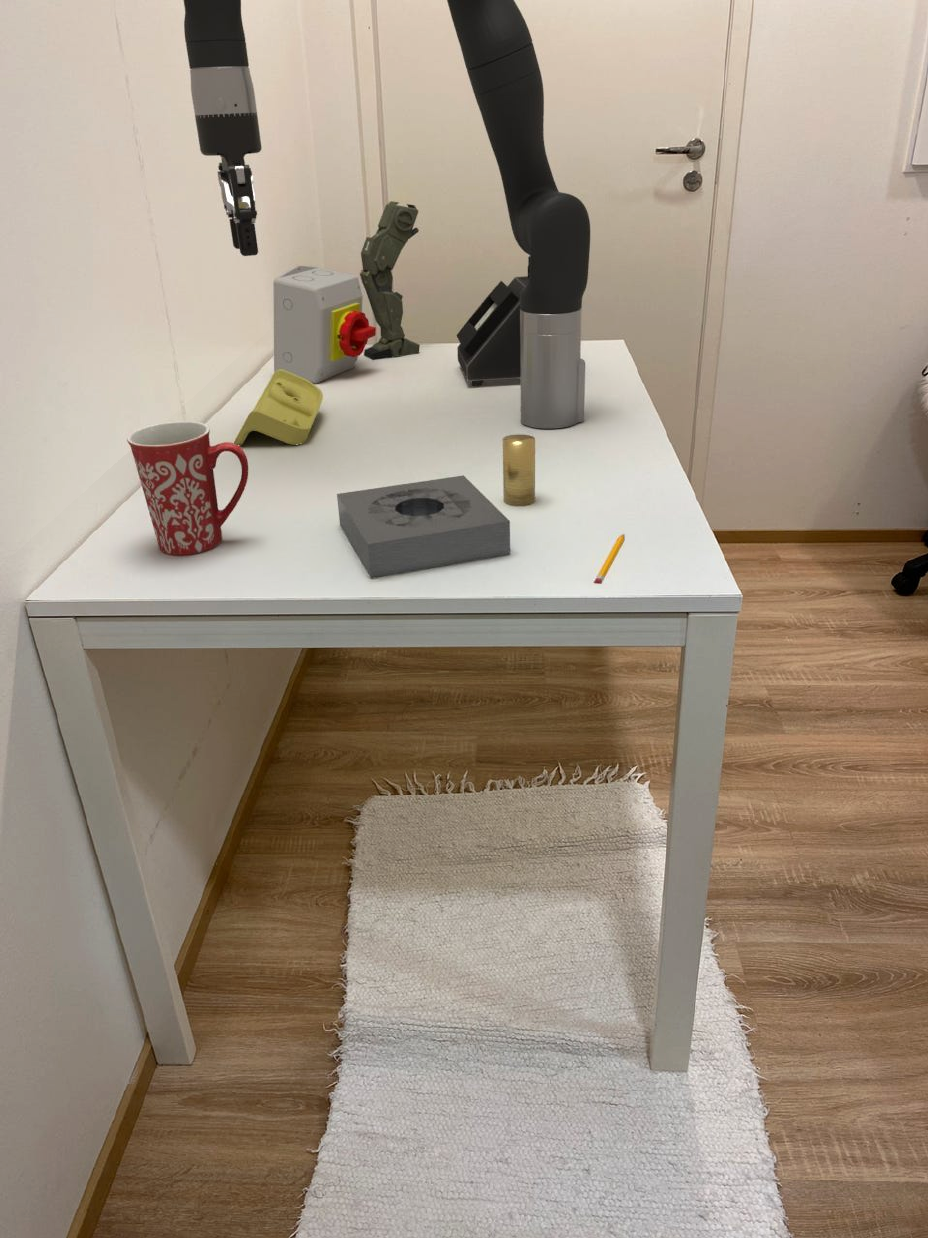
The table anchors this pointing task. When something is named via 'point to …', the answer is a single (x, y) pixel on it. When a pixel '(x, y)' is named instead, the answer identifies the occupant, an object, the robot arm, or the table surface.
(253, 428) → the plastic component
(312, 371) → the electrical switch box
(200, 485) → the mug
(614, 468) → the table surface
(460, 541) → the jig
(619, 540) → the pencil
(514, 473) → the brass peg
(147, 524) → the table surface
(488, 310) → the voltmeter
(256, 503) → the table surface
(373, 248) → the mechanical leg
